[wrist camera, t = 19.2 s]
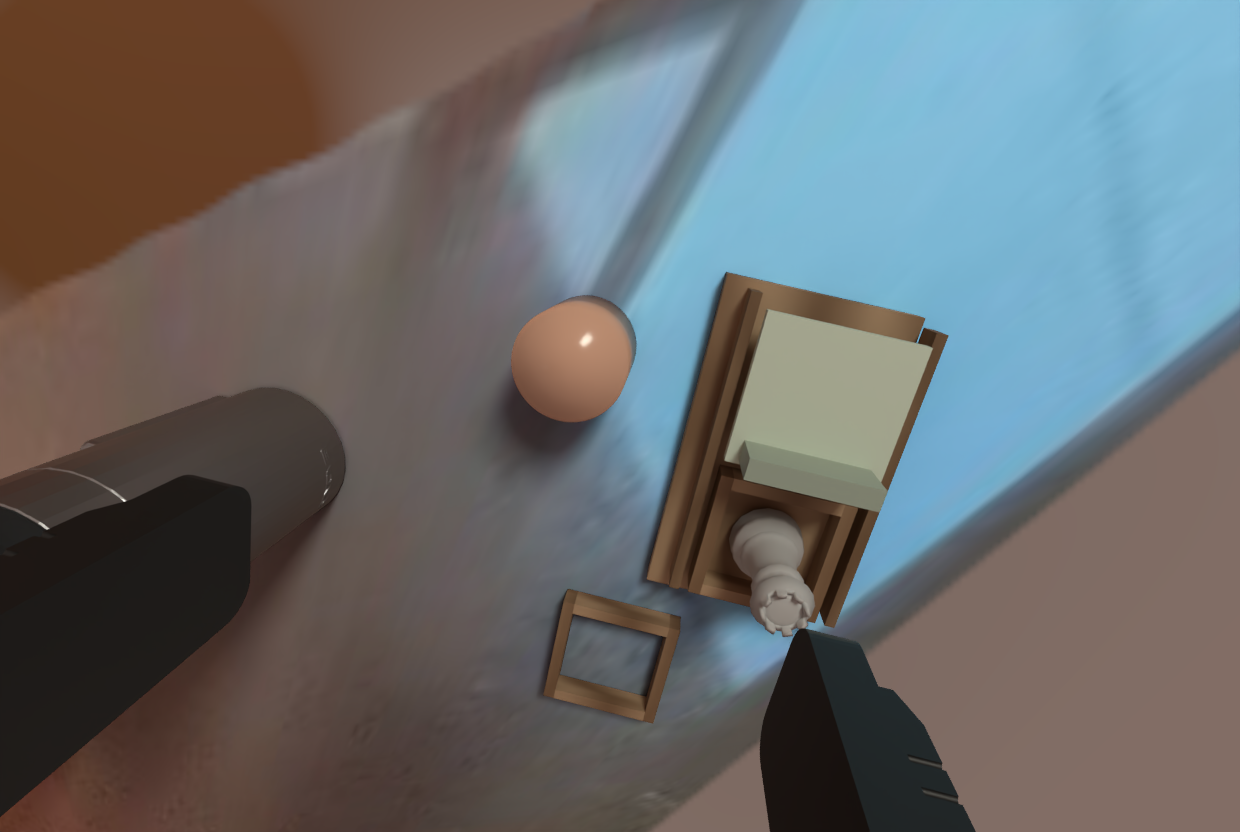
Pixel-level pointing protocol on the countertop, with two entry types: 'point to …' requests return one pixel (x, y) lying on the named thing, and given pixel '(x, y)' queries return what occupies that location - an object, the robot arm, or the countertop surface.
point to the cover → (824, 408)
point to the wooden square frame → (604, 695)
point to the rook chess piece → (773, 569)
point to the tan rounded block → (574, 358)
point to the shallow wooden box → (715, 488)
